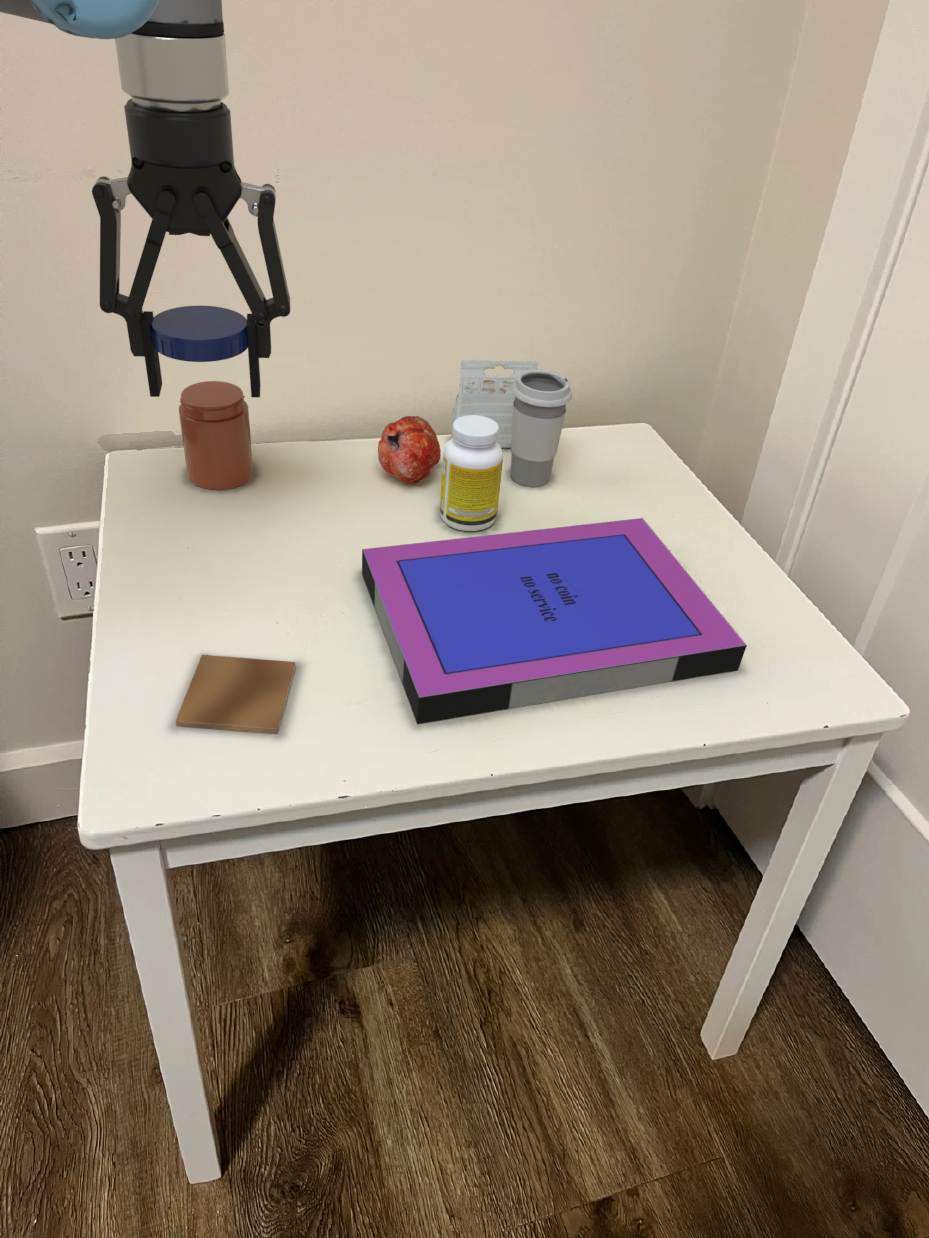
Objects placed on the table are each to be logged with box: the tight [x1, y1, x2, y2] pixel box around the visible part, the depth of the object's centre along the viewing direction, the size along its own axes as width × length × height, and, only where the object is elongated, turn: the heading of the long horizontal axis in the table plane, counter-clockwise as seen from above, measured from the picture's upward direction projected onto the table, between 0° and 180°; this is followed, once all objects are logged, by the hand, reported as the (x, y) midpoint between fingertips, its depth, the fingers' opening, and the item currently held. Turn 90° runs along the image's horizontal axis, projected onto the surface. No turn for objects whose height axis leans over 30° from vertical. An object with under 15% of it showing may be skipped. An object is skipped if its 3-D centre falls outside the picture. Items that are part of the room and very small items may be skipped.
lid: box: [151, 305, 248, 363], centre depth 78 cm, size 8×8×2 cm
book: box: [361, 517, 748, 725], centre depth 85 cm, size 21×3×30 cm
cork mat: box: [175, 654, 297, 735], centre depth 75 cm, size 8×8×1 cm
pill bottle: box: [439, 415, 504, 532], centre depth 95 cm, size 6×6×11 cm
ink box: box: [450, 359, 539, 449], centre depth 109 cm, size 3×9×12 cm, turn 98°
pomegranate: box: [377, 415, 442, 485], centre depth 103 cm, size 7×7×10 cm
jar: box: [178, 380, 254, 491], centre depth 99 cm, size 7×7×10 cm
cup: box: [509, 368, 573, 488], centre depth 103 cm, size 7×7×12 cm
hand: (206, 390), depth 81 cm, fingers closed on lid, 8 cm apart
